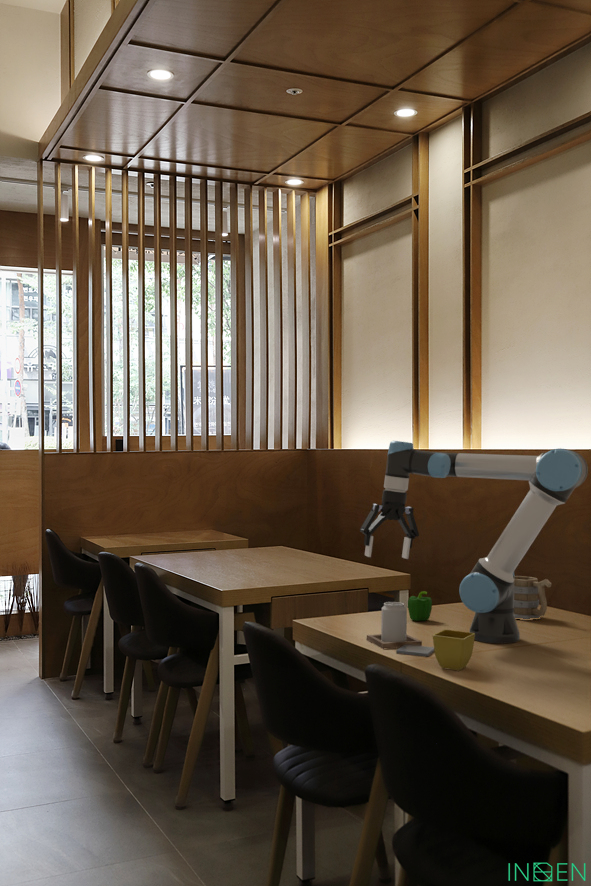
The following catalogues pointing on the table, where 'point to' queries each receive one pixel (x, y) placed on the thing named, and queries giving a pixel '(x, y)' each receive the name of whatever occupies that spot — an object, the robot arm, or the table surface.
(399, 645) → the walnut frame
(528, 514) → the robot arm
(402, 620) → the white jar
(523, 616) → the tankard
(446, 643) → the flower pot
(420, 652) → the slate coaster
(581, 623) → the table surface
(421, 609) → the bell pepper
